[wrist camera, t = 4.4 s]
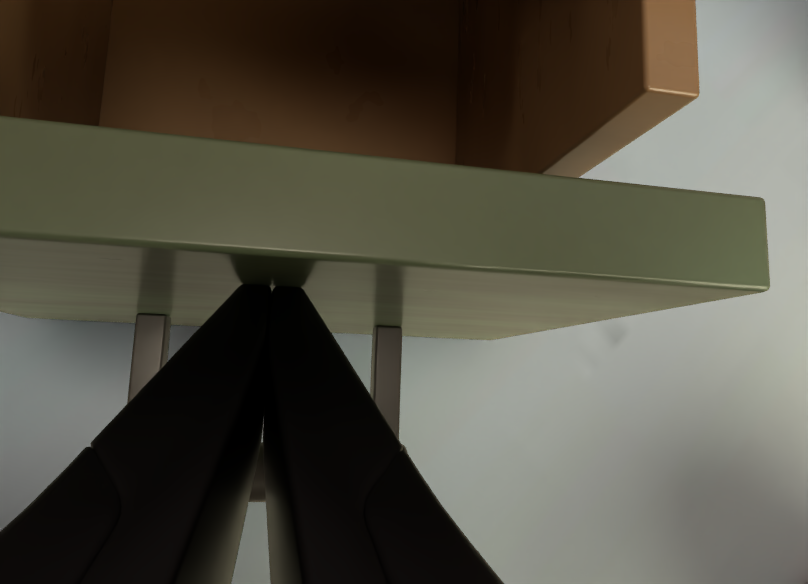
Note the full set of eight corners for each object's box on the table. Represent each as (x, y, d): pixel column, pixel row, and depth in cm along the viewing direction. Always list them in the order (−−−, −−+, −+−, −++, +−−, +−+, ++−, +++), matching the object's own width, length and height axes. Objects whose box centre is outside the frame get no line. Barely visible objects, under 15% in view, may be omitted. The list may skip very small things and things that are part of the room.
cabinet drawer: (490, 480, 16) (793, 629, 7) (4, 480, 14) (-616, 712, 4) (496, -31, 18) (727, -469, 9) (79, -104, 16) (-214, -805, 7)
